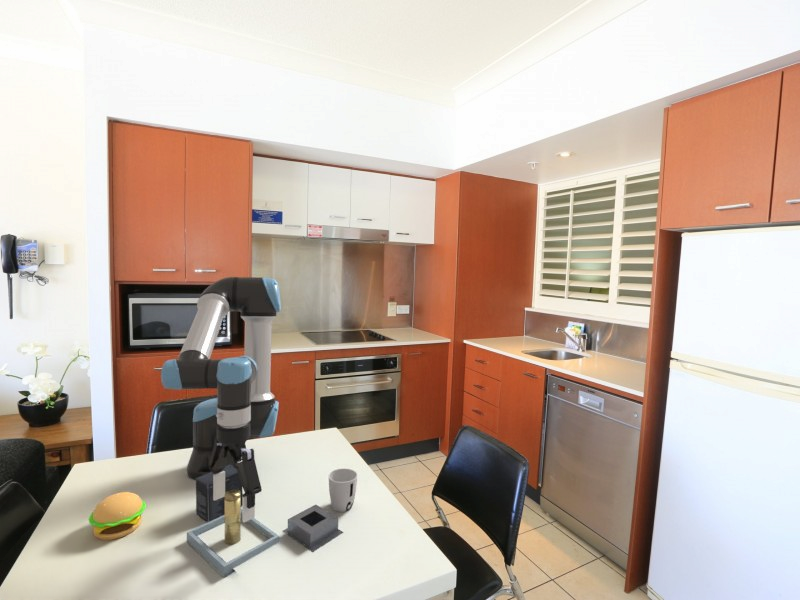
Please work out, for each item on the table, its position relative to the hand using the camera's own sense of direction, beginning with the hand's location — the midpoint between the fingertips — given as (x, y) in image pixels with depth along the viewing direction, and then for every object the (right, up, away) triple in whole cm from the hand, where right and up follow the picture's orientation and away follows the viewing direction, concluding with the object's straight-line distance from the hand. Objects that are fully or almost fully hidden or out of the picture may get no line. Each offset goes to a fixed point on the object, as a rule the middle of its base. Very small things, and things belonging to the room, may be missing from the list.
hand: (233, 508), depth 100 cm
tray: (0, -9, +1) cm, 9 cm away
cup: (+24, -9, +17) cm, 31 cm away
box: (-10, -8, +14) cm, 19 cm away
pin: (0, -8, 0) cm, 8 cm away
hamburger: (-31, -8, +5) cm, 33 cm away
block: (+18, -9, +5) cm, 21 cm away
